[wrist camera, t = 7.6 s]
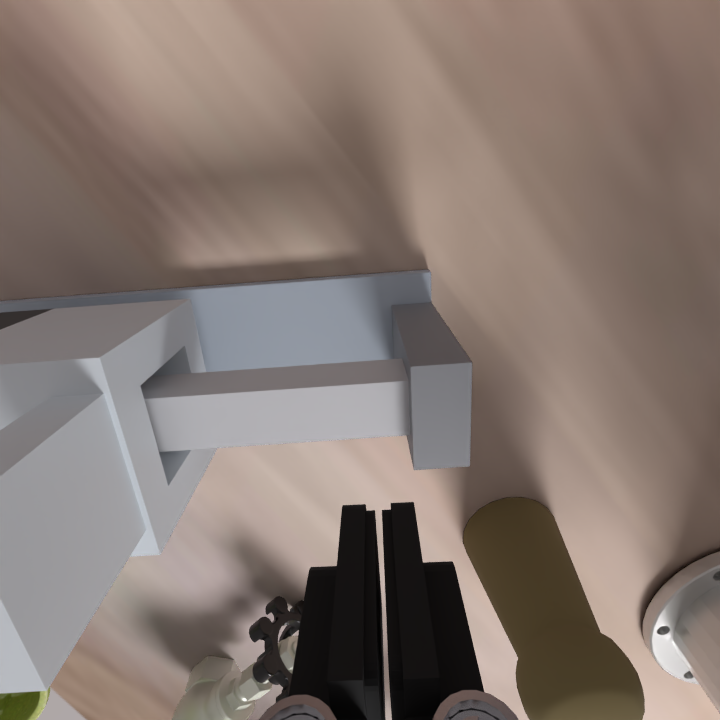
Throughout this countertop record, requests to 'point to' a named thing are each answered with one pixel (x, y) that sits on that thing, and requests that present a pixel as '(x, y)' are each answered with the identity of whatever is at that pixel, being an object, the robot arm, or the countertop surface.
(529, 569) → the cork
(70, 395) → the sleeve
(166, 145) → the countertop surface
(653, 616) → the robot arm
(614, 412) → the countertop surface
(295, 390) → the rail stand
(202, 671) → the valve
